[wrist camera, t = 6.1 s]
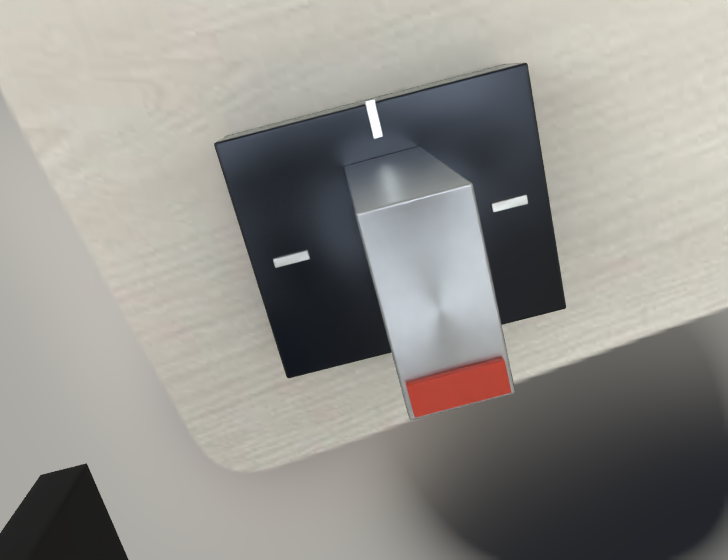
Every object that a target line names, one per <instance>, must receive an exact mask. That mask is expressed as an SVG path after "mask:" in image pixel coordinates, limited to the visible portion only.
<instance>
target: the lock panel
mask: <svg viewBox="0 0 728 560" xmlns="http://www.w3.org/2000/svg"><path fill="white" fill-rule="evenodd" d="M214 146H215V149H216V152H217V155H218V159H219V162H220V165H221V168H222V171H223V175H224V178H225V181H226V184H227V188H228V191H229V194H230V197H231V200H232V204H233V207H234V210H235V213H236V216H237V220H238V223H239V226H240V229H241V232H242V236H243V239H244V242H245V245H246V248H247V252H248V255H249V258H250V261H251V264H252V268H253V271H254V274H255V277H256V280H257V284H258V287H259V290H260V293H261V296H262V300H263V303H264V306H265V309H266V312H267V316H268V319H269V322H270V325H271V328H272V332H273V335H274V338H275V341H276V344H277V348H278V351H279V354H280V357H281V360H282V364H283V367H284V370H285V373H286V376H287V378H292V377H296V376H300V375H304V374H308V373H312V372H316V371H320V370H323V369H327V368H331V367H335V366H339V365H343V364H347V363H351V362H355V361H359V360H363V359H367V358H371V357H375V356H379V355H383V354H387V353H391V348H390V344H389V340H388V337H387V333H386V329H385V325H384V321H383V318H382V314H381V310H380V306H379V303H378V299H377V295H376V291H375V288H374V284H373V280H372V276H371V272H370V269H369V265H368V261H367V257H366V254H365V250H364V246H363V242H362V238H361V235H360V231H359V227H358V223H357V220H356V216H355V212H354V208H353V203H352V199H351V195H350V191H349V187H348V183H347V179H346V175H345V170H344V167H345V166H348V165H351V164H355V163H359V162H363V161H366V160H370V159H374V158H378V157H381V156H385V155H389V154H393V153H396V152H400V151H404V150H408V149H411V148H415V147H421V148H423V149H424V150H425V151H427V152H428V153H430V154H431V155H433V156H434V157H435V158H437V159H438V160H440V161H441V162H442V163H444V164H445V165H447V166H448V167H450V168H451V169H452V170H454V171H455V172H457V173H458V174H460V175H461V176H462V177H464V178H465V179H467V180H468V181H470V182H471V183H472V184H473V188H474V193H475V198H476V203H477V208H478V213H479V218H480V223H481V227H482V232H483V237H484V242H485V247H486V252H487V257H488V262H489V267H490V271H491V276H492V281H493V286H494V291H495V296H496V301H497V306H498V310H499V315H500V320H501V325H502V324H506V323H510V322H514V321H518V320H522V319H526V318H530V317H534V316H538V315H542V314H546V313H550V312H554V311H558V310H562V309H565V308H566V303H565V297H564V291H563V284H562V278H561V272H560V265H559V259H558V253H557V247H556V240H555V234H554V228H553V221H552V215H551V209H550V203H549V196H548V190H547V184H546V177H545V171H544V165H543V159H542V152H541V146H540V140H539V133H538V127H537V121H536V114H535V108H534V102H533V96H532V89H531V83H530V77H529V70H528V65H527V63H515V64H503V65H500V66H496V67H492V68H488V69H484V70H480V71H476V72H472V73H469V74H465V75H461V76H457V77H453V78H449V79H445V80H441V81H437V82H434V83H430V84H426V85H422V86H418V87H414V88H410V89H406V90H402V91H399V92H395V93H391V94H387V95H383V96H379V97H375V98H371V99H368V100H364V101H360V102H356V103H352V104H348V105H344V106H340V107H336V108H333V109H329V110H325V111H321V112H317V113H313V114H309V115H305V116H302V117H298V118H294V119H290V120H286V121H282V122H278V123H274V124H270V125H267V126H263V127H259V128H255V129H251V130H247V131H243V132H239V133H236V134H232V135H228V136H225V137H224V138H222V139H220V140H219V141H217V142H216V143H214Z"/></svg>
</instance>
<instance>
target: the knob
mask: <svg viewBox="0 0 728 560" xmlns="http://www.w3.org/2000/svg"><path fill="white" fill-rule="evenodd" d="M344 170H345V175H346V179H347V183H348V187H349V191H350V195H351V199H352V203H353V208H354V212H355V216H356V220H357V223H358V227H359V231H360V235H361V238H362V242H363V246H364V250H365V254H366V257H367V261H368V265H369V269H370V272H371V276H372V280H373V284H374V288H375V291H376V295H377V299H378V303H379V306H380V310H381V314H382V318H383V321H384V325H385V329H386V333H387V337H388V340H389V344H390V348H391V352H392V355H393V359H394V363H395V367H396V371H397V374H398V378H399V382H400V386H401V389H402V393H403V397H404V401H405V404H406V408H407V412H408V416H409V418H410V420H414V419H417V418H421V417H425V416H429V415H433V414H436V413H441V412H444V411H448V410H452V409H456V408H460V407H464V406H467V405H471V404H475V403H479V402H483V401H487V400H491V399H494V398H498V397H502V396H506V395H510V394H513V393H515V389H514V384H513V379H512V374H511V369H510V364H509V359H508V354H507V349H506V345H505V340H504V335H503V330H502V325H501V320H500V315H499V310H498V306H497V301H496V296H495V291H494V286H493V281H492V276H491V271H490V267H489V262H488V257H487V252H486V247H485V242H484V237H483V232H482V227H481V223H480V218H479V213H478V208H477V203H476V198H475V193H474V188H473V184H472V183H471V182H470V181H468V180H467V179H465V178H464V177H462V176H461V175H460V174H458V173H457V172H455V171H454V170H452V169H451V168H450V167H448V166H447V165H445V164H444V163H442V162H441V161H440V160H438V159H437V158H435V157H434V156H433V155H431V154H430V153H428V152H427V151H425V150H424V149H423V148H421V147H415V148H411V149H408V150H404V151H400V152H396V153H393V154H389V155H385V156H381V157H378V158H374V159H370V160H366V161H363V162H359V163H355V164H351V165H348V166H345V167H344Z"/></svg>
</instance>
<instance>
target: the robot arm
mask: <svg viewBox="0 0 728 560" xmlns="http://www.w3.org/2000/svg"><path fill="white" fill-rule="evenodd" d="M0 560H128V558H127V555H126V553H125V551H124V549H123V546H122V544H121V542H120V539H119V537H118V535H117V532H116V530H115V528H114V525H113V523H112V521H111V519H110V516H109V514H108V511H107V509H106V507H105V505H104V503H103V500H102V498H101V495H100V493H99V491H98V489H97V486H96V484H95V482H94V479H93V477H92V474H91V472H90V470H89V468H88V465H87V464H83V465H79V466H75V467H71V468H67V469H63V470H59V471H55V472H51V473H47V474H43V475H40V477H39V478H38V480H37V481H36V483H35V484H34V486H33V487H32V488H31V490H30V491H29V493H28V494H27V495H26V497H25V498H24V500H23V501H22V503H21V504H20V506H19V507H18V508H17V510H16V511H15V513H14V514H13V516H12V517H11V519H10V520H9V521H8V523H7V524H6V526H5V527H4V529H3V530H2V531H1V533H0Z"/></svg>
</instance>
